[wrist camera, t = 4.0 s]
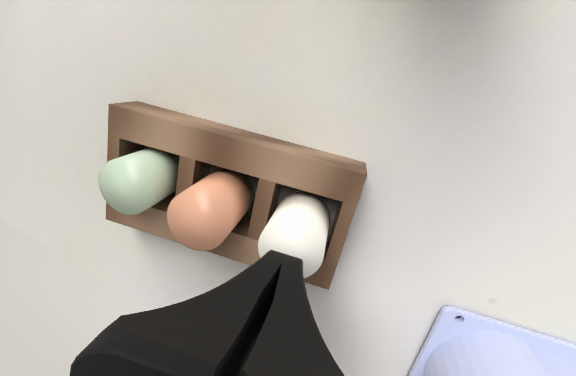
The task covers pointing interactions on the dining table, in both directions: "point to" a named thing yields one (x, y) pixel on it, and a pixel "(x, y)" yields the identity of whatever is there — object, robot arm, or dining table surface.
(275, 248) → the white rounded cylinder
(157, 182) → the button sage
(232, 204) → the salmon pink cylinder
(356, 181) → the wooden three-slot tray
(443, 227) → the dining table surface
